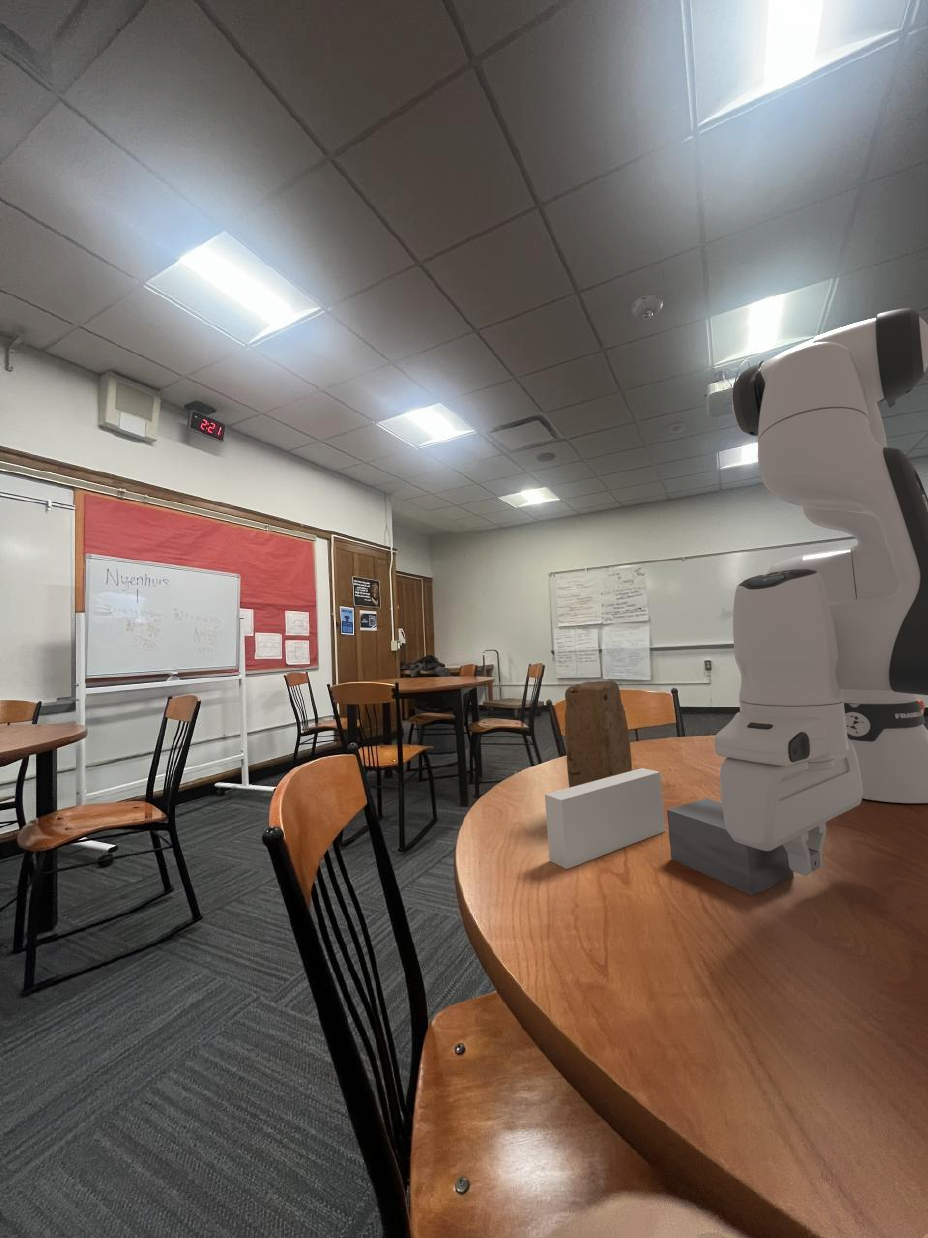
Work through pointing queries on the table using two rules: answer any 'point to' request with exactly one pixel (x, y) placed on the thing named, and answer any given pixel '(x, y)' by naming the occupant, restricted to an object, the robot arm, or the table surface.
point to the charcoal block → (722, 849)
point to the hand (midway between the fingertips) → (806, 869)
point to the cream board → (603, 816)
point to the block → (595, 732)
